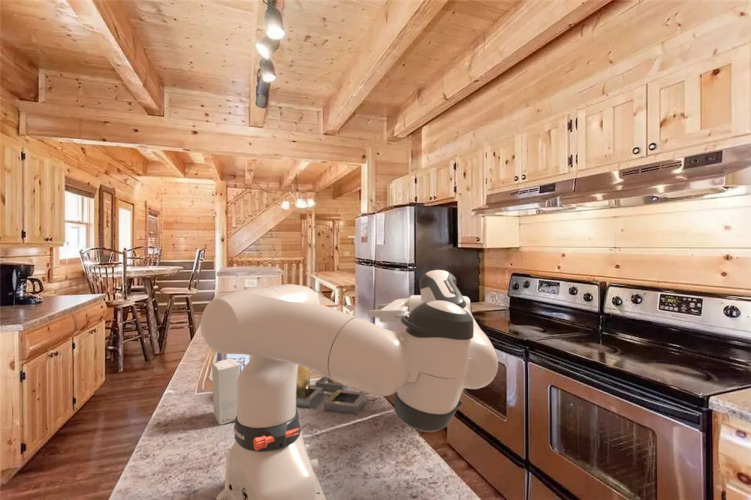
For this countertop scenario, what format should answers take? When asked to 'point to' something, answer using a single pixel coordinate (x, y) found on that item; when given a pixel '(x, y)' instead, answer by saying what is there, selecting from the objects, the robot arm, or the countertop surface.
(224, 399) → the skincare box
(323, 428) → the countertop surface
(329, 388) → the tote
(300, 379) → the cylinder
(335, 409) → the fixture plate
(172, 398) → the countertop surface
